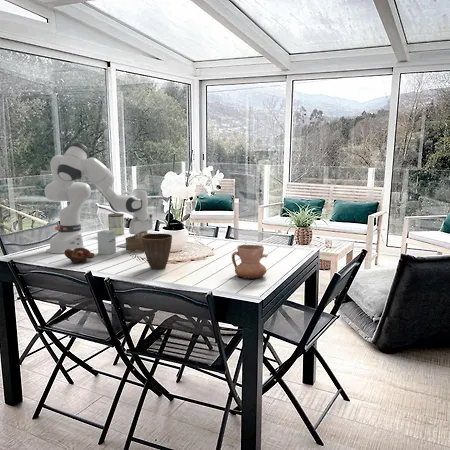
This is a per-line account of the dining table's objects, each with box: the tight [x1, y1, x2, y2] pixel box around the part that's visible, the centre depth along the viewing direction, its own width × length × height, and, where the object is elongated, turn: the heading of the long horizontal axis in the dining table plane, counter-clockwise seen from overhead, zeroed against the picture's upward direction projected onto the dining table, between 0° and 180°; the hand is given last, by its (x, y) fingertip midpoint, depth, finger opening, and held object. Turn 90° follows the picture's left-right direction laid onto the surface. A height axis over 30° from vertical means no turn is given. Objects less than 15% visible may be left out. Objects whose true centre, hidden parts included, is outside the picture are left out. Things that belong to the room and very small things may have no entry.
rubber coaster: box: [116, 242, 126, 249], centre depth 274 cm, size 9×9×1 cm
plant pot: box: [142, 233, 173, 271], centre depth 223 cm, size 15×15×16 cm
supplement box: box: [96, 229, 117, 256], centre depth 255 cm, size 7×7×13 cm
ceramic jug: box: [231, 244, 269, 280], centre depth 208 cm, size 18×14×14 cm
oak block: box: [135, 231, 148, 239], centre depth 269 cm, size 5×5×6 cm
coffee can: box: [107, 212, 125, 237], centre depth 309 cm, size 10×10×14 cm
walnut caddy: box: [125, 232, 153, 252], centre depth 269 cm, size 18×14×7 cm
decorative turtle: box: [63, 247, 95, 265], centre depth 234 cm, size 10×15×8 cm, turn 130°
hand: (141, 239), depth 269 cm, fingers closed on oak block, 5 cm apart
